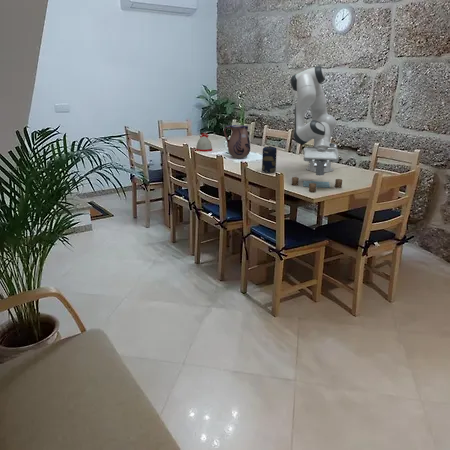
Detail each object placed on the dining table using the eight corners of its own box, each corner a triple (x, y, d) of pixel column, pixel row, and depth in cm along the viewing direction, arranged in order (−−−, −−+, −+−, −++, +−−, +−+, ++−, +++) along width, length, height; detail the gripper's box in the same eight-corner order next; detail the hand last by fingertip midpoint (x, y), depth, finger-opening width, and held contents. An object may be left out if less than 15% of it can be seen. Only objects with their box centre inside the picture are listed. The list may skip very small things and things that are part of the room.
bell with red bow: (209, 152, 361) (209, 134, 356) (194, 151, 364) (193, 133, 359) (213, 149, 374) (213, 131, 369) (198, 148, 377) (198, 131, 372)
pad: (303, 181, 270) (303, 180, 270) (328, 182, 268) (328, 181, 268) (303, 186, 259) (303, 185, 259) (330, 187, 257) (330, 186, 257)
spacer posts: (291, 183, 265) (292, 176, 263) (341, 186, 260) (342, 179, 259) (291, 191, 249) (291, 183, 247) (344, 194, 245) (345, 186, 243)
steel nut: (315, 173, 254) (316, 160, 251) (323, 173, 253) (324, 160, 250) (316, 175, 249) (316, 162, 246) (323, 175, 248) (324, 162, 246)
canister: (278, 172, 294) (279, 146, 288) (270, 174, 288) (271, 147, 281) (267, 169, 300) (268, 144, 294) (259, 172, 293) (259, 146, 287)
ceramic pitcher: (250, 160, 331) (251, 127, 322) (223, 159, 331) (223, 127, 323) (249, 155, 347) (250, 124, 339) (223, 155, 348) (224, 124, 339)
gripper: (304, 143, 254) (302, 163, 248) (339, 144, 249) (338, 164, 244) (304, 149, 260) (302, 169, 254) (338, 151, 255) (337, 170, 250)
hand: (320, 167), depth 249 cm, fingers closed on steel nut, 5 cm apart
